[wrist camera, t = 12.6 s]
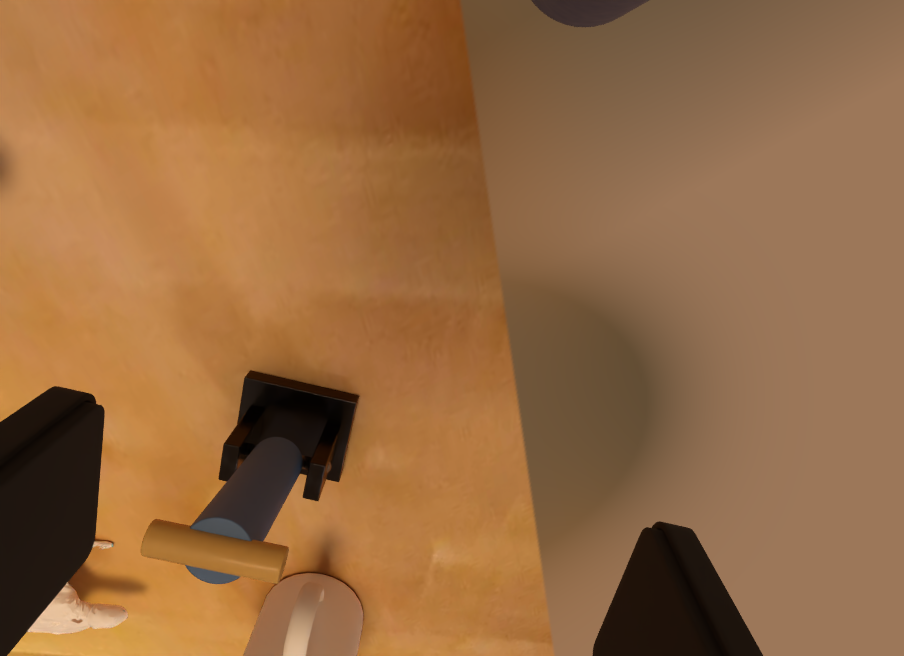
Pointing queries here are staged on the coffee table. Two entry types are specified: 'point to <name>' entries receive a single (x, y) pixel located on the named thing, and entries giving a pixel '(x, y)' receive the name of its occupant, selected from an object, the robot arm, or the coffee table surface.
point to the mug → (308, 619)
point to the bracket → (293, 426)
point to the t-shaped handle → (235, 521)
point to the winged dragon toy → (77, 611)
